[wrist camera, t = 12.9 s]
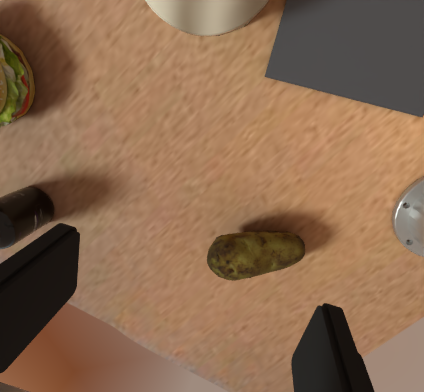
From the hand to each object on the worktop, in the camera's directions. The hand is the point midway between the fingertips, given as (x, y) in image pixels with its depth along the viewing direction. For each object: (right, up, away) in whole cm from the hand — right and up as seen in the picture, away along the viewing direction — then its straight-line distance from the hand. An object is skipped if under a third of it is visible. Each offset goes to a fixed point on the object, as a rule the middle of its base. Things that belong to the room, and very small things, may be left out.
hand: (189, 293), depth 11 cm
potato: (+8, -3, +33) cm, 34 cm away
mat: (+19, +24, +20) cm, 37 cm away
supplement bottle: (-28, +2, +37) cm, 47 cm away
